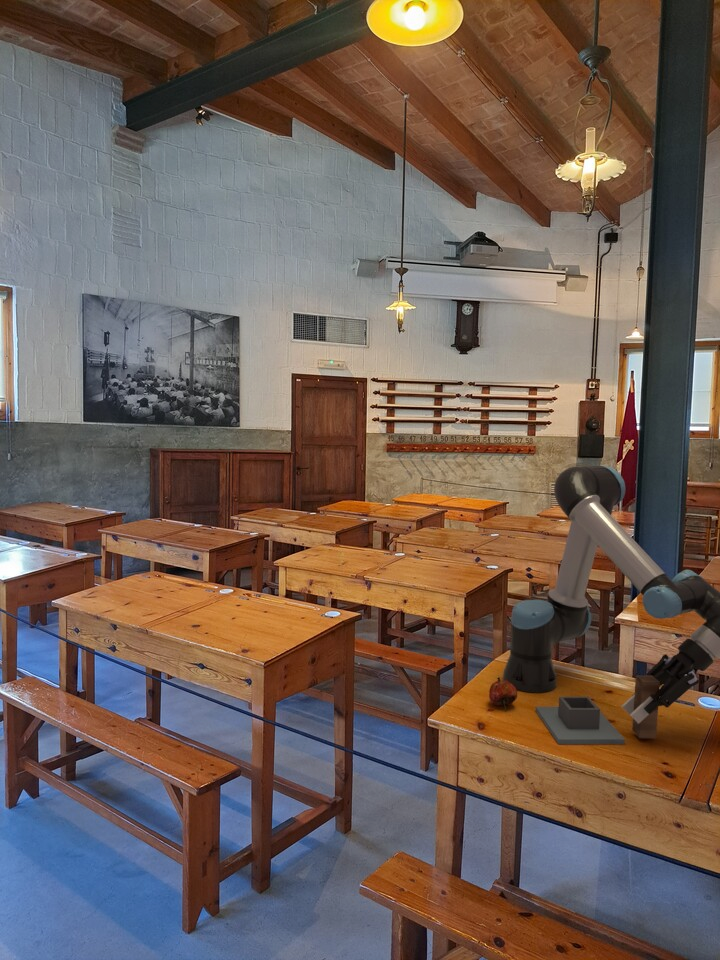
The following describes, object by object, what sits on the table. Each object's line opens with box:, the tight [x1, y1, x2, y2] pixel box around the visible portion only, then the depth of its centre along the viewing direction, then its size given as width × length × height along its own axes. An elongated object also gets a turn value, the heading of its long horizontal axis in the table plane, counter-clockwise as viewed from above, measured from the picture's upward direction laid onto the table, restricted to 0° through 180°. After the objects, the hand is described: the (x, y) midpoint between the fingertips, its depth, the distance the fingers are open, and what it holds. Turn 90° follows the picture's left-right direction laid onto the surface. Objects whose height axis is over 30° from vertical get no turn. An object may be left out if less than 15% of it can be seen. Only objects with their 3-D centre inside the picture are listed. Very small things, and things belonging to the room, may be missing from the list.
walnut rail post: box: [631, 674, 661, 739], centre depth 161 cm, size 4×4×14 cm
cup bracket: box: [535, 696, 626, 745], centre depth 167 cm, size 18×16×6 cm
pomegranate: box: [488, 677, 518, 712], centre depth 178 cm, size 7×7×10 cm
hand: (629, 714), depth 161 cm, fingers closed on walnut rail post, 4 cm apart
